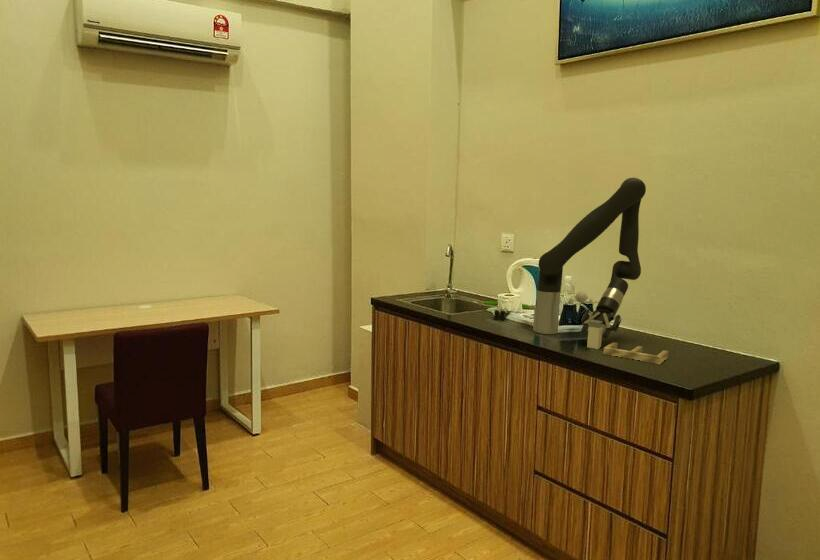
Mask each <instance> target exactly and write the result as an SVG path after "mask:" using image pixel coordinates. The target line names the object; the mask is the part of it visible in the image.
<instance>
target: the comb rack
mask: <svg viewBox="0 0 820 560" xmlns="http://www.w3.org/2000/svg"><path fill="white" fill-rule="evenodd" d="M618 345H619V342H615V341H613V342H611V343H609V344H608V345H605V346H604V347H603V354H604V355H603V354H602V355H603V356H609V355H611V356H610V357H614V356H618V357H617V358H620V357H623V358H622V359H626V358H628V359H627V360H632V359H634V360H633V361H637V360H640V361H639V362H643V361H644V362H643V363H650V364H654V363H655V364H656V365H661V364H662V363H664V362H665V361H666V360H667V359H668V358H669V350H662V351H661V352H660V353H658V354H657V355H656V354H650V353H643V346H641V345H640V346H639V345H637V346H636V347H634V348H633V349H631V350H626V349H619V348H618ZM664 360H665V361H664Z"/></svg>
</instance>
